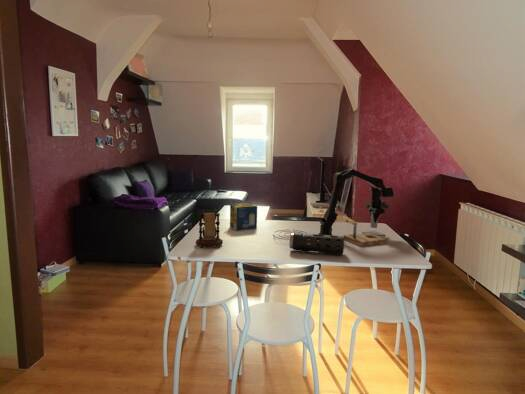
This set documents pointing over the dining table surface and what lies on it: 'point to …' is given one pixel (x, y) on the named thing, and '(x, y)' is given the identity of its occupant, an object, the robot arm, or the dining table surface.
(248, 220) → the protein box
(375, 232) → the rubber mat
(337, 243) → the muzzle brake
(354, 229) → the bar
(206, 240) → the wooden hourglass
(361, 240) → the socket base
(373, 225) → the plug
